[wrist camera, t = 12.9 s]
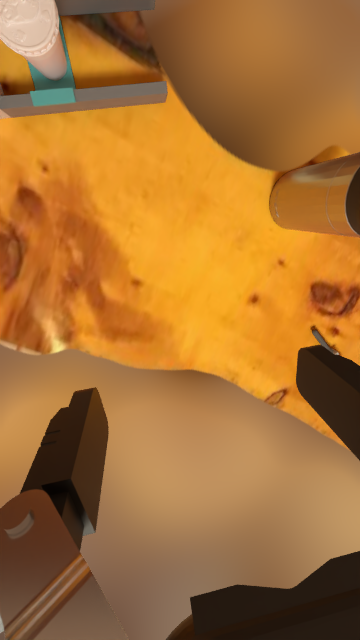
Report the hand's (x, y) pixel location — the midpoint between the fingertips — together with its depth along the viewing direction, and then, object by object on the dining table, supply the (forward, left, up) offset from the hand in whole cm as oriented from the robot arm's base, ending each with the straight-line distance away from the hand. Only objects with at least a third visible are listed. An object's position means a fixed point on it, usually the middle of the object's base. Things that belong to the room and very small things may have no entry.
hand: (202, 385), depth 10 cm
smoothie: (+9, -25, -36) cm, 45 cm away
